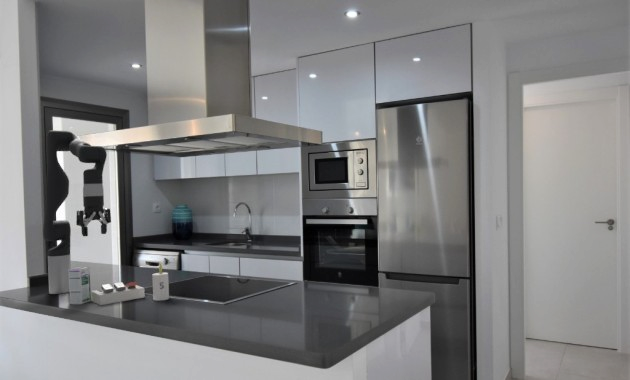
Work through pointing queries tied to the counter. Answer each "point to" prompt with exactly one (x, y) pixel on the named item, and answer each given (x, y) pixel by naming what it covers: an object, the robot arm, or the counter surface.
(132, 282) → the rocker
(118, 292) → the power strip
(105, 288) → the rocker
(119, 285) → the rocker
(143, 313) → the counter surface
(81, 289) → the syrup box
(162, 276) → the candle
